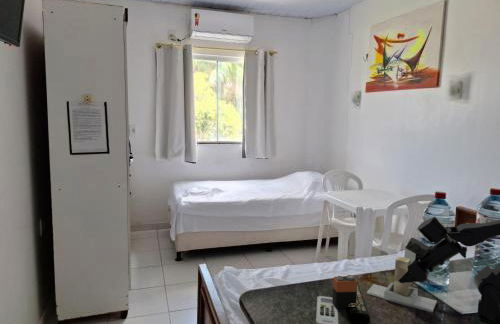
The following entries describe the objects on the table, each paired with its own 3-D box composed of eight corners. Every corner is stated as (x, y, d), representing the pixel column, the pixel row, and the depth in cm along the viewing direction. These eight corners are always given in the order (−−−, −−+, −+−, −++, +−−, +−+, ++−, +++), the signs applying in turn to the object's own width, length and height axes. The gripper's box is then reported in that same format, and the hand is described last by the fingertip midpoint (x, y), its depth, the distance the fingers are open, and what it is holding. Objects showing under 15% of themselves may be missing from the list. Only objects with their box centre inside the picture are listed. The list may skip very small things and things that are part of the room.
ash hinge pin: (408, 297, 123) (410, 258, 122) (405, 302, 120) (408, 262, 119) (396, 294, 125) (398, 256, 124) (393, 298, 122) (395, 259, 121)
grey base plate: (436, 302, 120) (437, 293, 120) (432, 313, 113) (432, 304, 113) (373, 285, 132) (374, 277, 132) (366, 294, 125) (366, 286, 125)
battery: (356, 308, 115) (357, 278, 114) (336, 309, 114) (337, 279, 114) (351, 301, 119) (352, 273, 118) (331, 302, 119) (333, 273, 118)
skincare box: (402, 272, 145) (404, 244, 144) (410, 270, 147) (411, 242, 146) (415, 278, 140) (417, 248, 139) (422, 276, 142) (424, 247, 141)
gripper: (427, 226, 125) (393, 250, 132) (416, 239, 110) (378, 265, 117) (451, 252, 121) (414, 275, 128) (444, 269, 106) (402, 294, 113)
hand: (402, 277), depth 122 cm, fingers open, 9 cm apart
